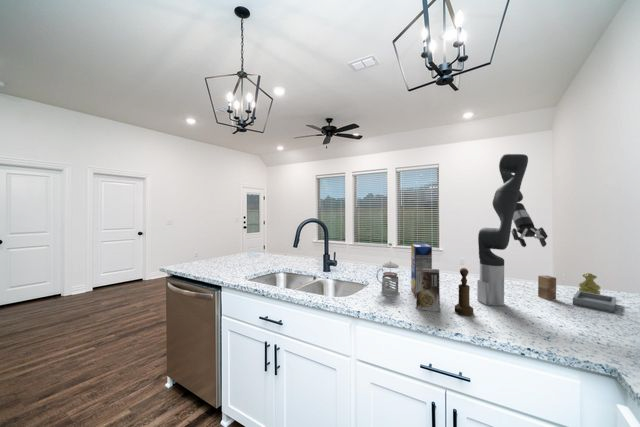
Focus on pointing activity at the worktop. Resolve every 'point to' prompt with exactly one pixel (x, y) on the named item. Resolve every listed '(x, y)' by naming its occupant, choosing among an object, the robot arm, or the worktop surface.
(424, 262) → the juice carton
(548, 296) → the block
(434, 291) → the coffee box
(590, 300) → the parts tray
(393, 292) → the french press
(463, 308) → the brown chess piece
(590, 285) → the olive green lumpy figure
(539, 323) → the worktop surface
